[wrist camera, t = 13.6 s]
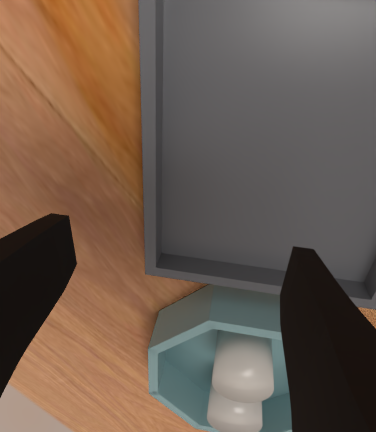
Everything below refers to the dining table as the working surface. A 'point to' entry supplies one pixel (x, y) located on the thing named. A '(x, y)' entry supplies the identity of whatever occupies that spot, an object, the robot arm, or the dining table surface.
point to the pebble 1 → (243, 367)
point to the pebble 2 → (233, 414)
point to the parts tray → (259, 140)
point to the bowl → (213, 351)
